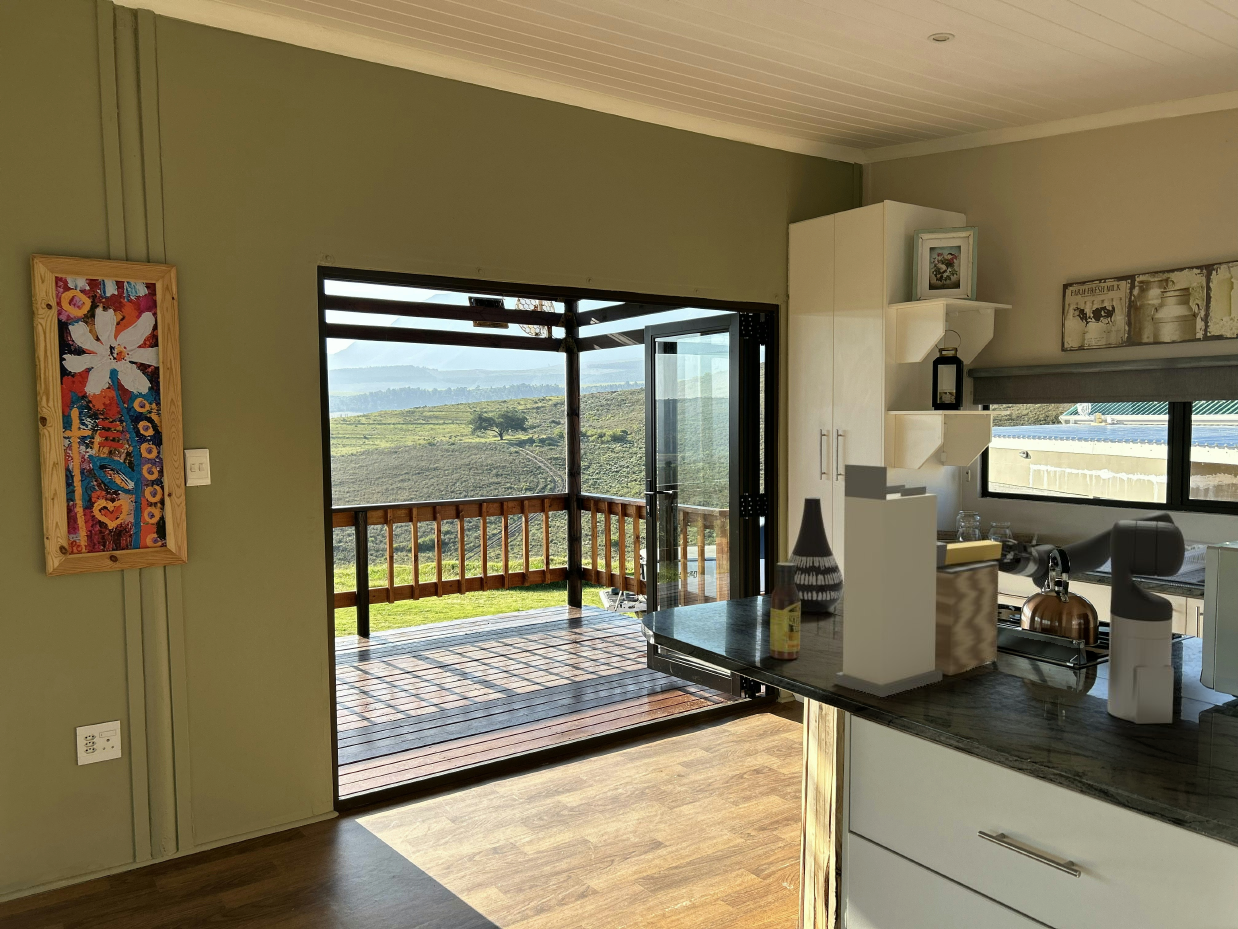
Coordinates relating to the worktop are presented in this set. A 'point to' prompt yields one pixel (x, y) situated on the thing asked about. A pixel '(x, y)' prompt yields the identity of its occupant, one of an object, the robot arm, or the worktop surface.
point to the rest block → (966, 615)
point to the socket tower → (888, 584)
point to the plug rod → (967, 552)
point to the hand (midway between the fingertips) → (979, 548)
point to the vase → (815, 563)
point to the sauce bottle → (785, 614)
